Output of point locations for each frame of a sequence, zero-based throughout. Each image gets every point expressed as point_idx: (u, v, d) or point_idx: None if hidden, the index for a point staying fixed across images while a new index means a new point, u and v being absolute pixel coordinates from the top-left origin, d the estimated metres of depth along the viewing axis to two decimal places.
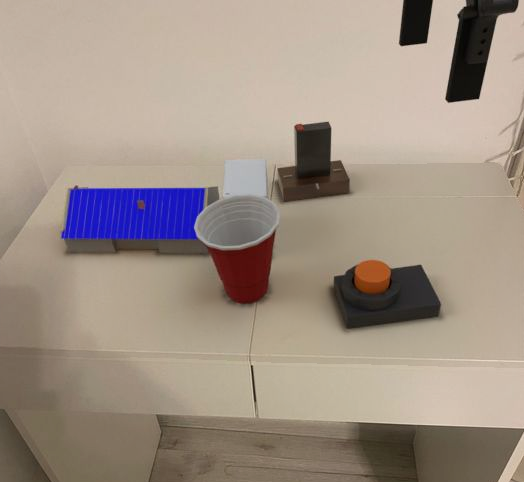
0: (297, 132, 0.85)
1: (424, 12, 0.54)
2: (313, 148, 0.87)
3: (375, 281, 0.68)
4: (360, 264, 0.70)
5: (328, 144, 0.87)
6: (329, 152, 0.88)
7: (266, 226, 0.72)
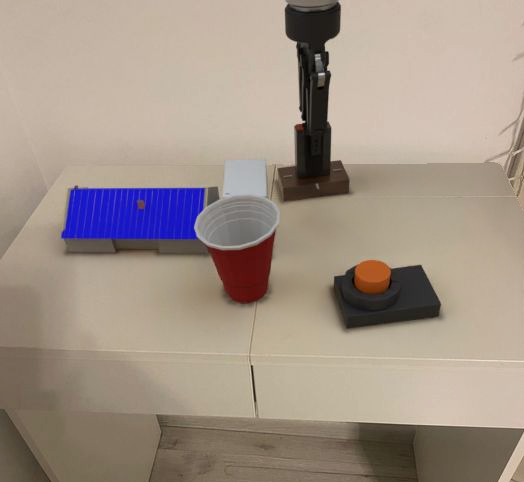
0: (297, 132, 0.85)
1: None
2: None
3: (375, 281, 0.68)
4: (360, 264, 0.70)
5: (328, 144, 0.87)
6: (329, 152, 0.88)
7: (266, 226, 0.72)
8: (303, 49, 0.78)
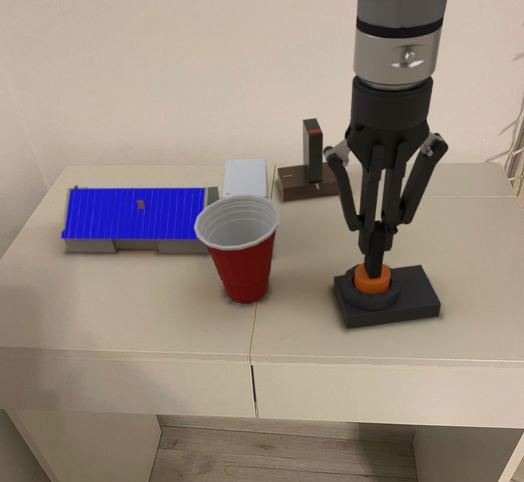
0: (322, 134, 0.84)
1: None
2: None
3: (375, 282, 0.68)
4: (360, 265, 0.70)
5: None
6: None
7: (266, 226, 0.72)
8: (383, 141, 0.55)
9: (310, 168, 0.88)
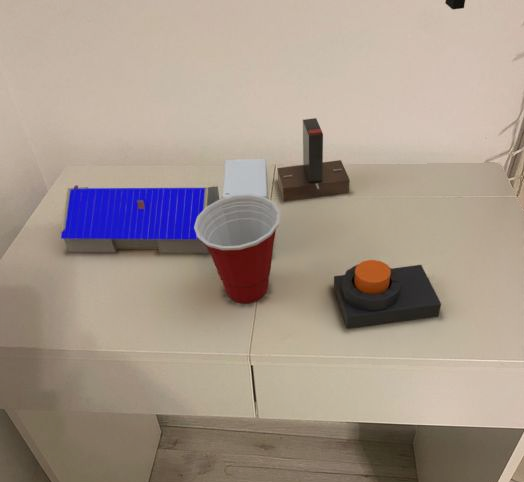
0: (322, 134, 0.84)
1: None
2: None
3: (375, 281, 0.68)
4: (360, 264, 0.70)
5: None
6: None
7: (266, 226, 0.72)
8: None
9: (310, 168, 0.88)
